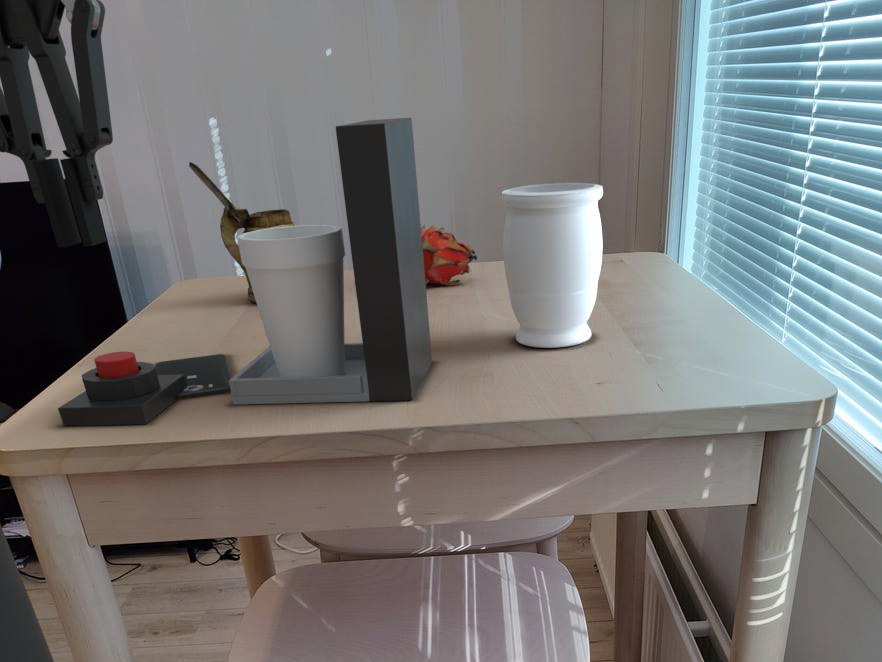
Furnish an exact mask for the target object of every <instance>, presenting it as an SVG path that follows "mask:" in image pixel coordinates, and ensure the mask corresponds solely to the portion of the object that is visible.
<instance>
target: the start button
mask: <svg viewBox="0 0 882 662" xmlns="http://www.w3.org/2000/svg"><path fill="white" fill-rule="evenodd" d="M93 361H94V365H95V368H97V372H98V375H99V377H101V378H113V377H120V376H126V375H130V374H133V373H137V372H138V371H139V369H138V365H137V362H138V361H137V358H136V354H135V353H134V352H132V351H114V352H108V353H103V354H101V355H97V356H95V358H94V360H93Z"/></svg>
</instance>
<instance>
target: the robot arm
mask: <svg viewBox="0 0 882 662" xmlns="http://www.w3.org/2000/svg"><path fill="white" fill-rule="evenodd" d="M65 10H66V11H65ZM65 12H66V13H65ZM64 13H65V17H66V19H67V20H68V22H69V23H70V38H71V47H72V55H73V63H74V70H75V78H76V83H77V84H76V85H77V89H76V87H75V84H74V79H73V78H72V75H71V71H70V68H69V66H68V62H67V59H66V55H67V49H66V47H65V44H64V41H63V38H62V35H61V33H60V27H61V25H62V21H63V17H64ZM105 15H106V8H105V5H104V3H103V2H102V0H0V83H1V86H0V153H7V154H10V155H12V156H15V157H17V158H19V159H20V160H21V161H22V163H23V165H24V168H25V171H26V175H27V178H28V182H29V184H30V188H31V190H32V194H33V197H34V199H35V201H36V202H37V204H44V205H45V208H46V211H47V212H46V213H47V215H48V219H49V222H50V226H51V229H52V232H53V235H54V239H55V242H56V245H57V248H58V249H59V248H62V249H63V248H69V247H71V246H72V247H73V246H74V245H78V244H82V243H83V247H93V246H97V245H101V244H103V243H106V242H108V239H107V236H106V231H105V228H104V224H103V221H102V216H101V213H100V209H99V206H98V202H97V201H98V200H102V199H104V189H103V185H102V181H101V177H100V174H99V169H98V167H97V163H96V153H97V152H98V151H99V150H101V149H103V148H104V147H106V146H110V145H111V144H112V143H113V141H114V136H113V128H112V127H113V126H112V120H111V119H112V118H111V111H110V103H109V102H110V101H109V94H108V86H107V78H106V68H105V61H104V52H103V45H102V44H103V43H102V32H103V26H104V21H105ZM30 56H31V57H32V58H33V59H34V60H35V63H36V66H37V69H38V71H39V75H40V78H41V80H42V83H43V86H44V89H45V92H46V95H47V98H48V100H49V103H50V106H51V109H52V112H53V115H54V117H55V121H56V124H57V126H58V129H59V132H60V136H61V138H62V141H63V144H64V148H65V149H64V150H61V151H62V153H63V156H65V157H66V158H61V159H59V158H57V157H56V158H50V157H51V156H52V149H47V145H46V141H45V140H46V139H45V136H44V131H43V127H42V121H41V117H40V113H39V108H38V103H37V98H36V93H35V89H34V84H33V80H32V75H31V71H30V66H29V60H30ZM77 91H78V92H77ZM1 253H2V251H0V269H1V266H2V254H1Z"/></svg>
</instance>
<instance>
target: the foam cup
mask: <svg viewBox="0 0 882 662" xmlns="http://www.w3.org/2000/svg"><path fill="white" fill-rule="evenodd" d="M242 233H243V232H242ZM242 233H241V234H239V235H238V236H236V239H237V240H236V241H237V245H238V246H239V250H240V255H241V260H242V265H244V266H245V268H246V271H247V274H248V277H249V280H250V284H251V287H252V290H253V293H254V296H255V300H256V303H257V304H256V303H255V304H256V305H257V309H258V312H259V315H260V319H261V322H262V325H263V328H264V331H265V335H266V338H267V342H268V345H269V346H270V348H271V351H272V354H273V357H274V360H275V363H276V367H277V370H278V373H279V374H280V378H281V377H316V376H343V374H344V372H345V371H344V366H345V347H344V343H345V285H344V284H345V281H344V279H345V278H344V277H345V276H344V272H345V271H344V258H345V257H346V250H345V242H344V232H343V227H341V226H338V225H335V224H299V225H295V226H285V227H276V228H269V229H262V230H256V231H252V232H247V233H243V234H242Z"/></svg>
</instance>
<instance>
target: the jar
mask: <svg viewBox="0 0 882 662" xmlns="http://www.w3.org/2000/svg"><path fill="white" fill-rule="evenodd" d="M603 188H604V185H602V184H597V183H590V182H555V183H554V182H552V183H539V184H530V185H521V186H515V187H512V188H509V189H505V190H503V191H501V193H502V194H501V202H502V203H503V204H504V205H505V206H506V207H507V212H506V214H505V215H506V216H505V220H504V226H503V239H502V240H503V241H502V244H503V245H502V252H503V253H502V254H503V267H504V273H505V279H506V285H507V288H508V293H509V294H508V295H509V296H508V297H509V300H510V305H511V309H512V312H513V314H514V316H515V319H516V321H517V322H518V323H519V328H518V330H517V332H516V334H515V340H516V342H518V343H519V344H521V345H523V346H527V347H532V348H542V349H553V348H554V349H556V348H565V347H571V346H577V345H579V344H583V343H585V342H587V341H588V340H590V339H591V337H592V331H591V328H590V326H589V325H588V320H589V319H590V317H591V315H592V312H593V309H594V306H595V304H596V300H597V294H598V286H599V283H598V282H599V279H600V275H601V270H602V262H603V247H604V246H603V229H602V219H601V214H600V210H599V201H600V200H601V199H602V197H603V195H604V189H603Z"/></svg>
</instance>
